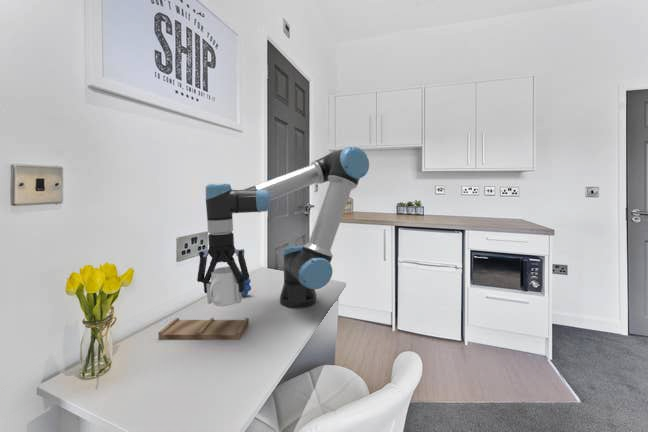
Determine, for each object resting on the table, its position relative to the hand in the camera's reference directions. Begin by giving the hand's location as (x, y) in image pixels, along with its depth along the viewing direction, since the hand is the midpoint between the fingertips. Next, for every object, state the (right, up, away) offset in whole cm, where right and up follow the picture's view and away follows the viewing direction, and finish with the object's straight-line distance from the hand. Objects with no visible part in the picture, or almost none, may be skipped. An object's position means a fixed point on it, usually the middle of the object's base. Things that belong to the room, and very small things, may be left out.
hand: (224, 302), depth 89 cm
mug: (-1, -1, 0) cm, 1 cm away
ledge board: (-6, -10, +1) cm, 12 cm away
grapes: (-5, -7, +31) cm, 33 cm away
